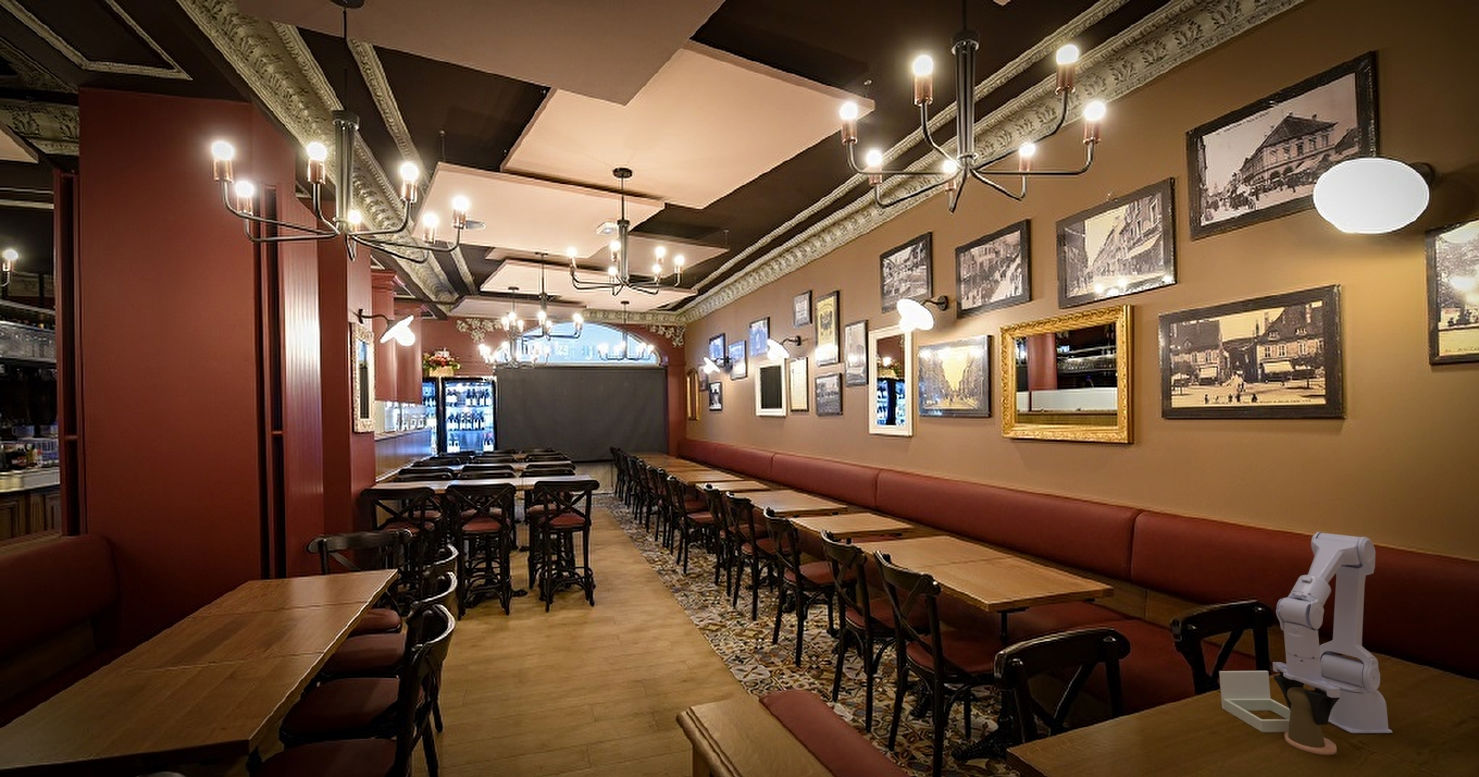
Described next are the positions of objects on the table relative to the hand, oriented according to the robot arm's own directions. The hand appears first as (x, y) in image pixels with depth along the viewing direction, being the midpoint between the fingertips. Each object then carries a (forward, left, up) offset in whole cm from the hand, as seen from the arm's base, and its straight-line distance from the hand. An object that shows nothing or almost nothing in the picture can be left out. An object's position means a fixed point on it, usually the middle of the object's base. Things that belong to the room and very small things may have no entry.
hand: (1307, 717), depth 135 cm
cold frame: (0, -12, -6) cm, 13 cm away
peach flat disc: (0, 0, -6) cm, 6 cm away
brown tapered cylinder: (+1, 0, -5) cm, 5 cm away
